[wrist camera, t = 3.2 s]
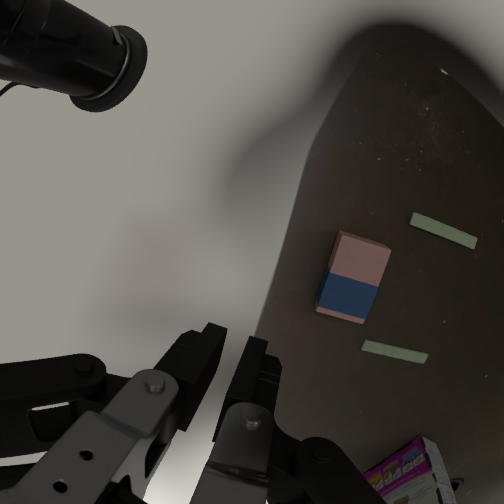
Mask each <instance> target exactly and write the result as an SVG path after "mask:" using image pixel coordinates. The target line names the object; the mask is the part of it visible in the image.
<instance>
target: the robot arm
mask: <svg viewBox="0 0 504 504" xmlns="http://www.w3.org/2000/svg"><path fill="white" fill-rule="evenodd" d="M131 59H132V46H131V43H130V41H129V39H128V38H127V37H126V36H124V35H123V34H121V33H119V32H118V31H117V29H116V28H115V27H113V26H112V28H110V27H109V26H107V25H106V24H104V23H103V22H101V21H99V20H98V19H96V18H94V17H93V16H91V15H89V14H88V13H86V12H84V11H82V10H81V9H79V8H77V7H75V6H74V5H72V4H70V3H68V2H66V1H65V0H0V79H2V80H7V81H12V82H11V83H9V84H8V85H6V86H5V87H4V88H3V89H2V90H1V91H0V96H1V95H3V94H4V93H5V92H6V91H7V90H9V89H10V88H11V87H14V86H16V85H26V86H29V87H32V88H45V89H49V90H53V91H57V92H61V93H65V94H68V95H72V96H76V97H78V98H80V99H83V100H87V101H94V100H98V99H101V98H103V97H105V96H106V95H108V94H109V93H110V92H112V91H113V90H114V89H115V88H116V87H117V86H118V85H119V83H120V82H121V81H122V79H123V78H124V76H125V75H126V73H127V71H128V69H129V66H130V63H131ZM226 334H227V328H225V327H222V326H219V325H216V324H213V323H210V322H209V323H208V324H207V325H206V327H205V328H204V330H203V331H202V332H201V333H200V332H197V331H194V330H190V331H188V332H185V333H183V334H181V335H180V337H179V338H178V339H177V340H176V341H175V343H174V344H173V345H172V346H171V348H170V349H169V350H168V351H167V352H166V353H165V355H164V356H163V357H162V358H161V359H160V361H159V362H158V363H157V364H156V365H155V367H154V368H153V369H146V370H142V371H139V372H137V373H136V374H135V375H134V376H133V377H132V378H127V377H121V376H117V375H113V374H108V373H106V366H105V364H104V363H103V362H102V361H101V360H100V359H99V358H97V357H95V356H93V355H90V354H73V355H67V356H60V357H54V358H46V359H39V360H30V361H23V362H13V363H4V364H0V458H6V457H14V456H21V455H28V454H34V453H40V452H45V451H47V453H45V455H43V457H42V458H41V459H40V460H39V461H38V462H37V463H29V464H21V465H11V466H0V504H147V503H146V502H144V501H143V498H144V495H145V492H146V489H147V486H148V484H149V482H150V480H151V478H152V476H153V475H154V473H155V471H156V469H157V468H158V466H159V464H160V462H161V461H162V459H163V457H164V455H165V453H166V452H167V450H168V448H169V446H170V444H171V439H172V438H173V437H174V435H175V433H176V431H177V429H179V430H182V431H184V432H186V430H187V428H188V426H189V424H190V423H191V421H192V419H193V417H194V415H195V413H196V411H197V409H198V407H199V405H200V403H201V401H202V399H203V397H204V395H205V393H206V391H207V389H208V387H209V385H210V383H211V381H212V379H213V377H214V375H215V373H216V371H217V368H218V365H219V362H220V358H221V354H222V350H223V346H224V342H225V339H226ZM267 344H268V341H266V340H263V339H260V338H256V337H253V336H249V339H248V341H247V344H246V346H245V349H244V351H243V354H242V356H241V359H240V361H239V364H238V366H237V369H236V371H235V374H234V376H233V379H232V381H231V383H230V386H229V388H228V391H227V393H226V396H225V399H224V403H223V406H222V410H221V413H220V416H219V420H218V423H217V426H216V430H215V433H214V436H213V440H212V442H215V444H214V446H213V449H212V451H211V454H210V456H209V459H208V461H207V462H206V464H205V467H204V469H203V472H202V474H201V477H200V479H199V481H198V484H197V486H196V489H195V491H194V494H193V496H192V498H191V501H190V503H189V504H266V499H267V502H268V504H387V503H386V502H385V501H384V499H383V498H382V497H381V496H380V495H379V494H378V493H377V491H376V490H375V489H374V488H373V487H372V486H371V484H370V483H369V482H368V481H367V480H366V479H365V477H364V476H363V475H362V474H361V473H360V471H359V470H358V469H357V468H356V467H355V466H354V464H353V463H352V462H351V461H350V459H349V458H348V457H347V456H346V455H345V453H344V452H343V451H342V450H341V448H340V447H339V446H338V445H336V444H335V443H334V442H332V441H330V440H328V439H325V438H321V437H311V438H307V439H305V440H303V441H302V442H301V441H299V440H297V439H295V438H293V437H291V436H289V435H287V434H285V433H284V432H283V431H282V430H281V429H280V428H279V427H278V426H277V424H276V422H275V420H274V410H275V404H276V399H277V393H278V388H279V382H280V376H281V371H282V366H281V363H280V361H279V359H278V357H274V356H271V355H268V354H265V351H266V348H267ZM64 402H68V403H69V405H65V406H59V407H54V408H49V409H43V410H31V409H32V408H35V407H40V406H46V405H53V404H58V403H64Z"/></svg>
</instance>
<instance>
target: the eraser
mask: <svg viewBox="0 0 504 504" xmlns="http://www.w3.org/2000/svg"><path fill="white" fill-rule="evenodd" d="M390 253H391V250H390V249H389V248H388V247H387V246H385V245H384V244H381V243H378V242H375V241H372V240H369V239H366V238H363V237H360V236H357V235H354V234H350V233H347V232H344V231H341V230H339V231H338V235H337V238H336V241H335V244H334V247H333V251H332V254H331V257H330V260H329V263H328V265H327V267H326V270H325V273H324V276H323V279H322V282H321V285H320V287H319V290H318V293H317V298H316V311H317V312H320V313H324V314H327V315H331V316H335V317H338V318H342V319H346V320H349V321H353V322H357V323H360V324H363V323H364V320H365V319H366V318H367V315H368V313H369V311H370V308H371V306H372V303H373V301H374V298H375V296H376V293H377V291H378V288H379V287H378V286H379V283H380V281H381V278H382V275H383V273H384V270H385V267H386V264H387V261H388V259H389V256H390Z"/></svg>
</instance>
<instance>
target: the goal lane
mask: <svg viewBox="0 0 504 504" xmlns="http://www.w3.org/2000/svg"><path fill="white" fill-rule="evenodd" d="M409 224H410V225H413V226H415V227H418V228H421V229H423V230H426V231H429V232H431V233H434V234H436V235H439V236H442V237H444V238H447V239H449V240H452V241H454V242H457V243H459V244H461V245H464V246H466V247H469V248H471V249H473V250H474V248H475V245H476V242H477V238H476V237H474V236H471V235H469V234H467V233H464V232H462V231H460V230H457V229H455V228H453V227H450V226H448V225H446V224H443V223H441V222H438V221H436V220H433V219H431V218H428V217H426V216H423V215H420V214H418V213H415V212H413V213H412V216H411V220H410V223H409ZM361 350H364V351H368V352H372V353H376V354H381V355H385V356H390V357H394V358H399V359H403V360H408V361H413V362H418V363H423V364H424V362H425V361H426V359H427V357H428V353H423V352H418V351H414V350H409V349H405V348H401V347H396V346H392V345H388V344H384V343H380V342H376V341H372V340H368V339H365V341H364V343H363V345H362V347H361Z"/></svg>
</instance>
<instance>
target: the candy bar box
mask: <svg viewBox="0 0 504 504" xmlns="http://www.w3.org/2000/svg"><path fill="white" fill-rule="evenodd" d="M363 476H364V477H365V479H366V480H367V481H368V482H369V483H370V484H371V486H372V487H373V488H374V489H375V490H376V491H377V493H378V494H379V495H380V496H381V497H382V498H383V499H384V501H385V502H386V503H387V504H457V503H456V500H455V496H454V493H453V490H452V487H451V484H450V480H449V477H448V475H447V472H446V469H445V466H444V463H443V460H442V458H441V455H440V452H439V450H438V447H437V445H436V443H435V442H433V441H431V440H429V439H427V438H425V437H424V436H422V435H419V436H417V437H416V438H415V439H414V440H412V441H411V442H410V443H408V444H407V445H406V446H404V447H403V448H402V449H400V450H399V451H397V452H396V453H395V454H393V455H392V456H390V457H389V458H387V459H386V460H384V461H383V462H381V463H380V464H378V465H377V466H375V467H374V468H372V469H371V470H369V471H367V472H366V473H364V474H363Z"/></svg>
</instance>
